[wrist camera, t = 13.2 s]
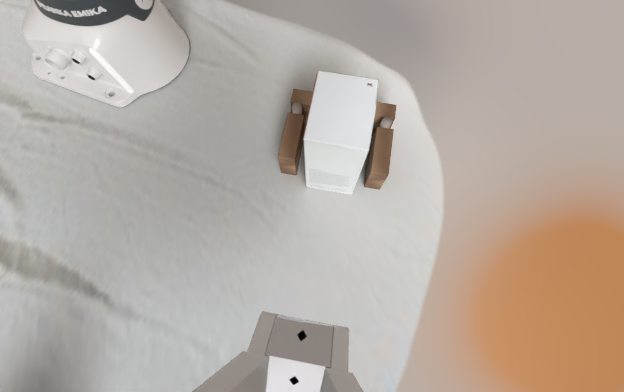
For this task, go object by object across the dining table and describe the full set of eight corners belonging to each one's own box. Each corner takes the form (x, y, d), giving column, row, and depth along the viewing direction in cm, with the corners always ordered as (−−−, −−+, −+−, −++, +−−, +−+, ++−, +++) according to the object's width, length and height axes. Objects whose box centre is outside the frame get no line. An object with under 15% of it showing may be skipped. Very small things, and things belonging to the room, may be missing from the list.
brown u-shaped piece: (281, 172, 42) (277, 154, 37) (295, 111, 45) (293, 85, 40) (379, 189, 42) (389, 172, 36) (387, 126, 45) (397, 102, 39)
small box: (315, 133, 44) (317, 68, 32) (360, 141, 44) (381, 77, 32) (304, 188, 42) (302, 139, 29) (352, 196, 42) (370, 151, 29)
